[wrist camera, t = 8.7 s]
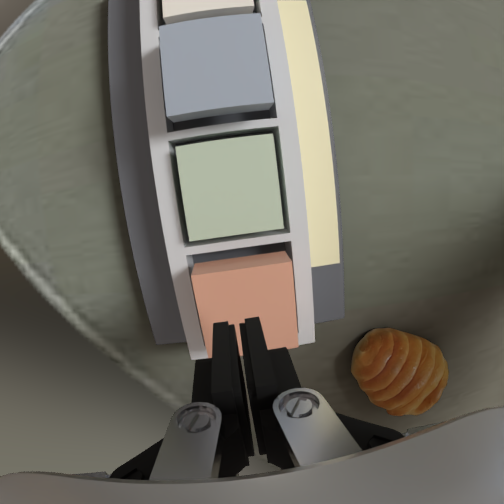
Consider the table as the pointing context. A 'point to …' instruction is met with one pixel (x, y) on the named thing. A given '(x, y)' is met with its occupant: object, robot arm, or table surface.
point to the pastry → (399, 371)
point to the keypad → (217, 128)
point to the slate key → (215, 67)
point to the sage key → (230, 186)
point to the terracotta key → (248, 297)
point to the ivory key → (203, 9)
